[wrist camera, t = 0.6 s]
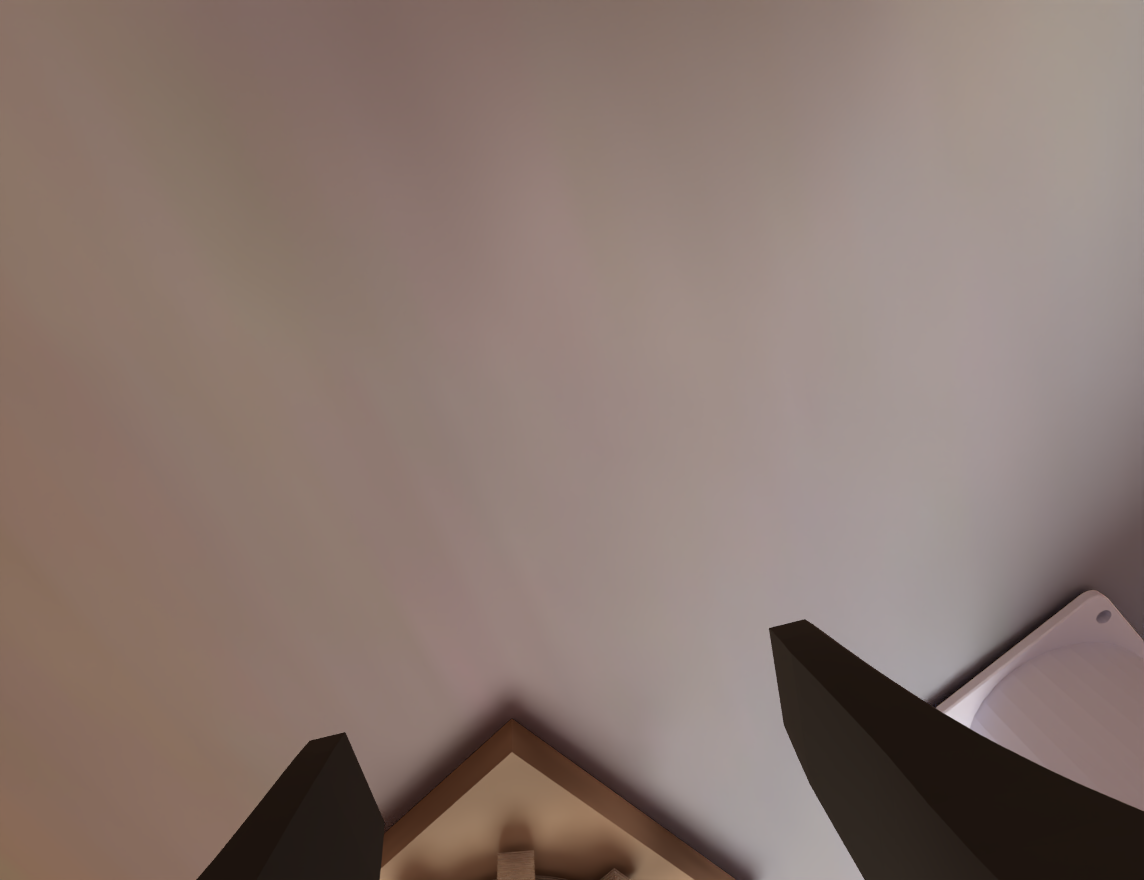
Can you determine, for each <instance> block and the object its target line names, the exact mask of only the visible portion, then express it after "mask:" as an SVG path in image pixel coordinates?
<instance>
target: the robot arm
mask: <svg viewBox="0 0 1144 880" xmlns="http://www.w3.org/2000/svg"><path fill="white" fill-rule="evenodd" d="M769 631H770V638H771V644H772V651H773V657H774V664H775V670H776V677H777V683H778V690H779V696H780V703H781V709H782V716H783V722H784V726H785V728H786V731H787V733H788V735H789V738H790V740H791V742H792V745H793V747H794V749H795V752H796V754H797V756H798V759H799V761H800V763H801V765H802V768H803V770H804V772H805V774H806V776H807V779H808V781H809V783H810V785H811V787H812V789H813V790H814V792H815V794H816V796H817V798H818V799H819V801H820V803H821V805H822V806H823V808H824V810H825V812H826V813H827V815H828V817H829V819H830V820H831V822H832V824H833V826H834V827H835V829H836V831H837V833H838V834H839V836H840V838H841V839H842V841H843V843H844V845H845V846H846V848H847V850H848V852H849V853H850V855H851V857H852V859H853V860H854V862H855V864H856V865H857V867H858V869H859V871H860V872H861V874H862V876H863V878H864V879H865V880H1144V641H1143V639H1142V638H1141V637H1140V636H1139V635H1138V633H1137V632H1136V631H1135V630H1134V629H1133V627H1132V626H1131V625H1130V624H1129V623H1128V621H1127V620H1126V619H1125V618H1124V617H1123V615H1122V614H1121V613H1120V612H1119V611H1118V609H1117V608H1116V607H1115V606H1114V605H1113V603H1112V602H1111V601H1110V600H1109V599H1108V598H1107V597H1106V596H1104V595H1103V594H1101V593H1100V592H1098V591H1096V590H1090V591H1086V592H1084V593H1082V594H1081V595H1079V596H1078V597H1077V598H1075V599H1074V600H1073V601H1072V602H1070V603H1069V604H1068V605H1067V606H1065V607H1064V608H1063V609H1061V610H1060V611H1059V612H1058V613H1056V614H1055V615H1054V616H1052V617H1051V618H1050V619H1049V620H1047V621H1046V622H1045V623H1043V624H1042V625H1041V626H1040V627H1038V628H1037V629H1036V630H1035V631H1033V632H1032V633H1031V634H1029V635H1028V636H1027V637H1026V638H1024V639H1023V640H1022V641H1020V642H1019V643H1018V644H1017V645H1015V646H1014V647H1013V648H1011V649H1010V650H1009V651H1008V652H1006V653H1005V654H1004V655H1003V656H1001V657H1000V658H999V659H997V660H996V661H995V662H994V663H992V664H991V665H990V666H988V667H987V668H986V669H985V670H983V671H982V672H981V673H979V674H978V675H977V676H976V677H974V678H973V679H972V680H971V681H969V682H968V683H967V684H965V685H964V686H963V687H962V688H960V689H959V690H958V691H956V692H955V693H954V694H953V695H951V696H950V697H949V698H947V699H946V700H945V701H944V702H942V703H941V704H940V705H939V706H937V707H936V708H934V707H933V706H931V705H930V704H928V703H926V702H925V701H923V700H921V699H920V698H918V697H917V696H915V695H914V694H912V693H911V692H909V691H908V690H906V689H905V688H903V687H901V686H900V685H898V684H897V683H895V682H894V681H892V680H891V679H889V678H888V677H886V676H885V675H883V674H882V673H880V672H879V671H877V670H876V669H874V668H873V667H872V666H870V665H869V664H867V663H866V662H864V661H863V660H862V659H860V658H859V657H857V656H856V655H854V654H853V653H852V652H850V651H849V650H847V649H846V648H845V647H843V646H842V645H840V644H839V643H838V642H836V641H835V640H834V639H832V638H831V637H829V636H828V635H827V634H825V633H824V632H823V631H821V630H820V629H819V628H817V627H816V626H814V625H813V624H811V623H810V622H808V621H807V620H805V619H804V620H800V621H796V622H792V623H788V624H784V625H780V626H776V627H772V628H769ZM384 825H385V822H384V820H383V818H382V816H381V813H380V811H379V809H378V806H377V804H376V802H375V799H374V797H373V795H372V793H371V790H370V788H369V786H368V783H367V781H366V779H365V776H364V774H363V772H362V770H361V767H360V765H359V763H358V760H357V758H356V756H355V753H354V751H353V749H352V747H351V744H350V742H349V740H348V737H347V735H346V733H345V732H344V733H340V734H336V735H332V736H328V737H324V738H320V739H315V740H311V741H309V742H308V743H307V745H306V746H305V747H304V748H303V749H302V750H301V751H300V753H299V754H298V755H297V756H296V757H295V759H294V760H293V761H292V762H291V764H290V765H289V766H288V767H287V769H286V770H285V771H284V772H283V774H282V775H281V776H280V777H279V779H278V780H277V781H276V783H275V784H274V785H273V786H272V788H271V789H270V790H269V791H268V793H267V794H266V795H265V797H264V798H263V799H262V800H261V802H260V803H259V804H258V805H257V807H256V808H255V809H254V810H253V812H252V813H251V814H250V815H249V817H248V818H247V819H246V820H245V822H244V823H243V824H242V825H241V827H240V828H239V829H238V830H237V832H236V833H235V834H234V835H233V837H232V838H231V839H230V840H229V842H228V843H227V844H226V845H225V847H224V848H223V849H222V850H221V851H220V853H219V854H218V855H217V856H216V858H215V859H214V860H213V861H212V862H211V863H210V865H209V866H208V867H207V868H206V869H205V870H204V872H203V873H202V874H201V875H200V876H199V877H198V879H197V880H380V872H381V863H382V851H383V838H384Z"/></svg>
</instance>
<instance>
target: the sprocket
mask: <svg viewBox="0 0 1144 880" xmlns="http://www.w3.org/2000/svg"><path fill="white" fill-rule="evenodd" d="M494 880H567V879H563V878H557V877H551V876H538V875H535V868H534V850H530V851H518V852H505V853H498V868H497V879H494ZM600 880H631V879H629V878H628V877H626V876H625V875H623V874H622V873H620V872H619V871H617V870H616V869H613V870H611V871H610V872H609V873H608V874H606V875H605V876H604V877H603V878H602V879H600Z"/></svg>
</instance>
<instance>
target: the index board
mask: <svg viewBox="0 0 1144 880" xmlns="http://www.w3.org/2000/svg"><path fill="white" fill-rule="evenodd" d="M530 850H534V868H535V875H538V876H551V877H557V878H563V879H567V880H600V879H602V878H603V877H604V876H605V875H606V874H608V873H609V872H610V871H611V870H613V869H616V870H617V871H619V872H620V873H622V874H623V875H625V876H626V877H628V878H629V879H631V880H736V879H734V878H733V877H732V876H730V875H729V874H727V873H726V872H725V871H723V870H722V869H720V868H719V867H718V866H716V865H715V864H713V863H712V862H711V861H709V860H708V859H707V858H705V857H704V856H702V855H701V854H700V853H698V852H697V851H695V850H694V849H693V848H691V847H690V846H688V845H687V844H686V843H684V842H683V841H681V840H680V839H679V838H677V837H676V836H675V835H673V834H672V833H670V832H669V831H668V830H666V829H665V828H663V827H662V826H661V825H659V824H658V823H656V822H655V821H654V820H652V819H651V818H649V817H648V816H647V815H645V814H644V813H643V812H641V811H640V810H638V809H637V808H636V807H634V806H633V805H631V804H630V803H629V802H627V801H626V800H624V799H623V798H622V797H620V796H619V795H617V794H616V793H615V792H613V791H612V790H611V789H609V788H608V787H606V786H605V785H604V784H602V783H601V782H599V781H598V780H597V779H595V778H594V777H592V776H591V775H590V774H588V773H587V772H585V771H584V770H583V769H581V768H580V767H579V766H577V765H576V764H574V763H573V762H572V761H570V760H569V759H567V758H566V757H565V756H563V755H562V754H560V753H559V752H558V751H556V750H555V749H553V748H552V747H551V746H549V745H548V744H547V743H545V742H544V741H542V740H541V739H540V738H538V737H537V736H535V735H534V734H533V733H531V732H530V731H528V730H527V729H526V728H524V727H523V726H521V725H520V724H519V723H517V722H516V721H515V720H513V719H511V720H510V721H509V722H507V723H506V724H505V725H504V726H503V727H502V728H501V729H500V730H499V731H498V732H496V733H495V734H494V735H493V736H492V737H491V738H490V739H489V740H488V741H486V742H485V743H484V744H483V745H482V746H481V747H480V748H479V749H478V750H476V751H475V752H474V753H473V754H472V755H471V756H470V757H469V758H468V759H466V760H465V761H464V762H463V763H462V764H461V765H460V766H459V767H458V768H457V769H455V770H454V771H453V772H452V773H451V774H450V775H449V776H448V777H447V778H445V779H444V780H443V781H442V782H441V783H440V784H439V785H438V786H437V787H435V788H434V789H433V790H432V791H431V792H430V793H429V794H428V795H427V796H425V797H424V798H423V799H422V800H421V801H420V802H419V803H418V804H417V805H416V806H414V807H413V808H412V809H411V810H410V811H409V812H408V813H407V814H406V815H404V816H403V817H402V818H401V819H400V820H399V821H398V822H397V823H396V824H394V825H393V826H392V827H391V828H390V829H389V830H388V831H387V832H386V833H384V838H383V851H382V863H381V872H380V880H494V879H497V868H498V853H505V852H518V851H530Z"/></svg>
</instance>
